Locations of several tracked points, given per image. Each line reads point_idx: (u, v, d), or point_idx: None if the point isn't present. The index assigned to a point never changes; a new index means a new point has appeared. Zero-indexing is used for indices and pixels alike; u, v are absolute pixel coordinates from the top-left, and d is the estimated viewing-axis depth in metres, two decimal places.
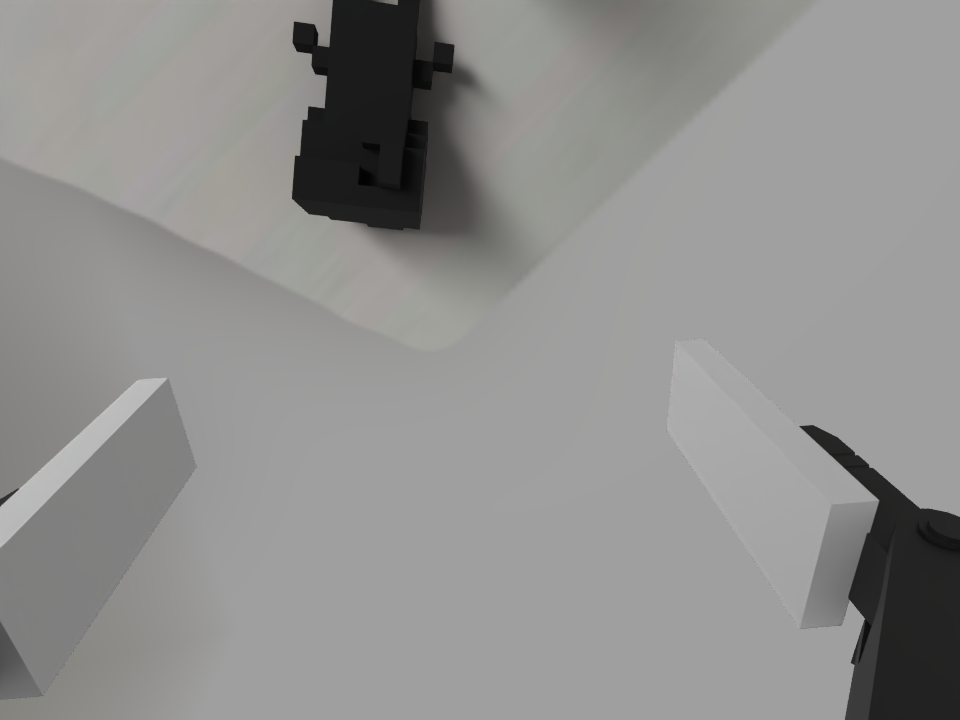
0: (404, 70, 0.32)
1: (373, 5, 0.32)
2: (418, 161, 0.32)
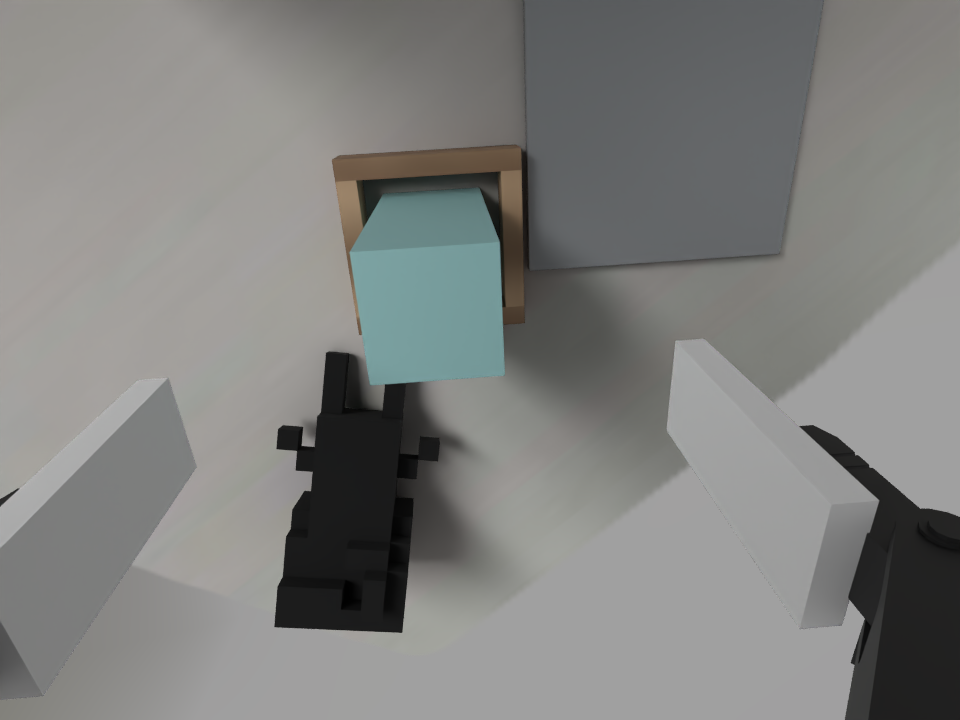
0: (389, 483, 0.32)
1: (357, 423, 0.32)
2: (401, 583, 0.32)
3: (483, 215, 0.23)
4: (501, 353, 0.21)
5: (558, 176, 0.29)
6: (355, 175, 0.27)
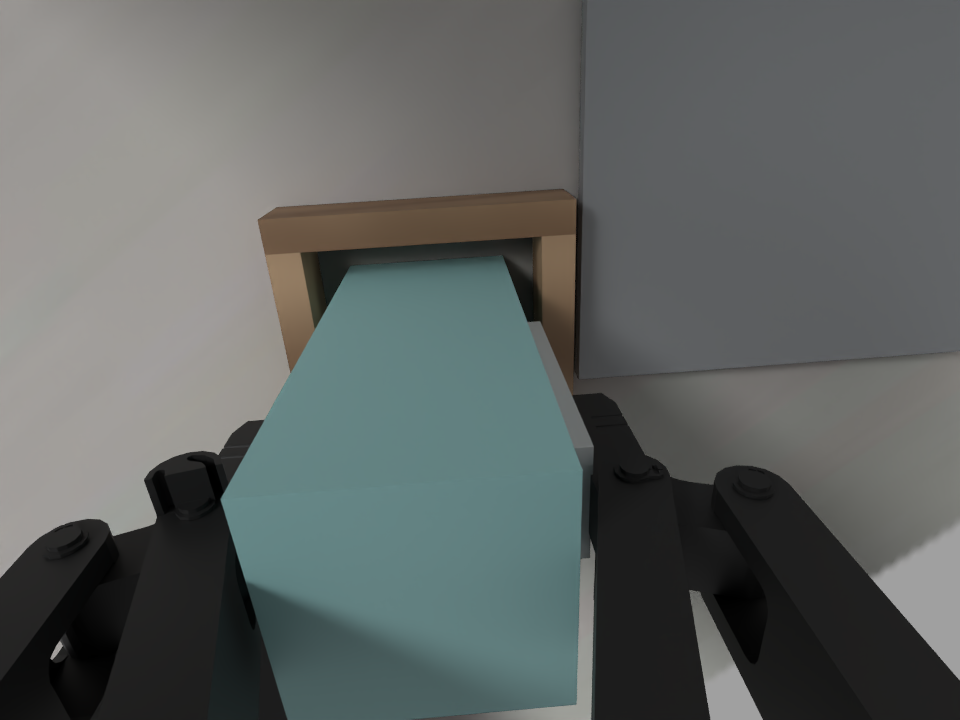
0: None
1: None
2: None
3: (523, 343, 0.12)
4: (572, 670, 0.10)
5: (630, 239, 0.18)
6: (298, 244, 0.16)
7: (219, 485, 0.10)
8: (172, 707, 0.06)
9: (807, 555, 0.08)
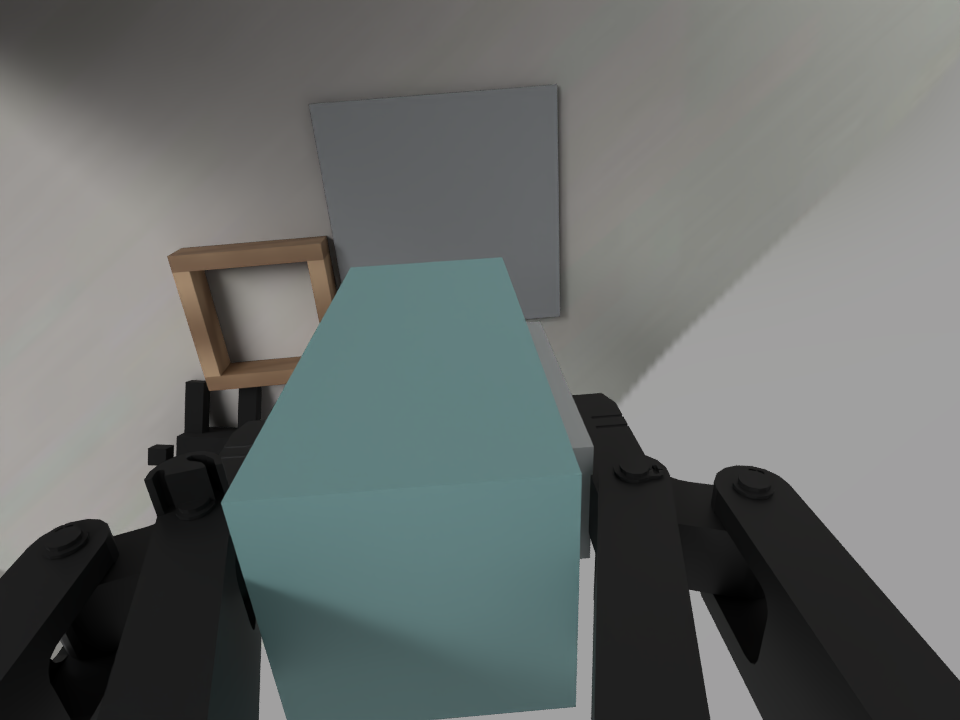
0: None
1: (211, 441, 0.38)
2: None
3: (523, 345, 0.12)
4: (571, 672, 0.10)
5: (362, 260, 0.36)
6: (188, 267, 0.34)
7: (219, 485, 0.10)
8: (173, 707, 0.07)
9: (807, 555, 0.08)
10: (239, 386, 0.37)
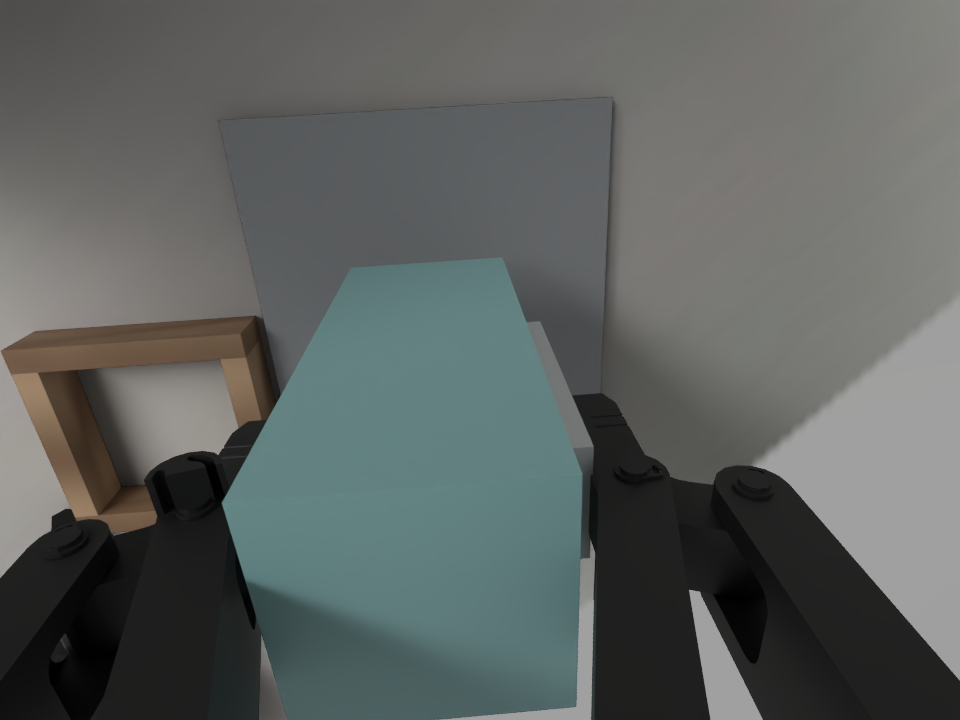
0: None
1: None
2: None
3: (523, 346, 0.12)
4: (572, 672, 0.10)
5: None
6: (35, 367, 0.22)
7: (219, 485, 0.10)
8: (171, 707, 0.06)
9: (807, 555, 0.08)
10: (127, 529, 0.25)
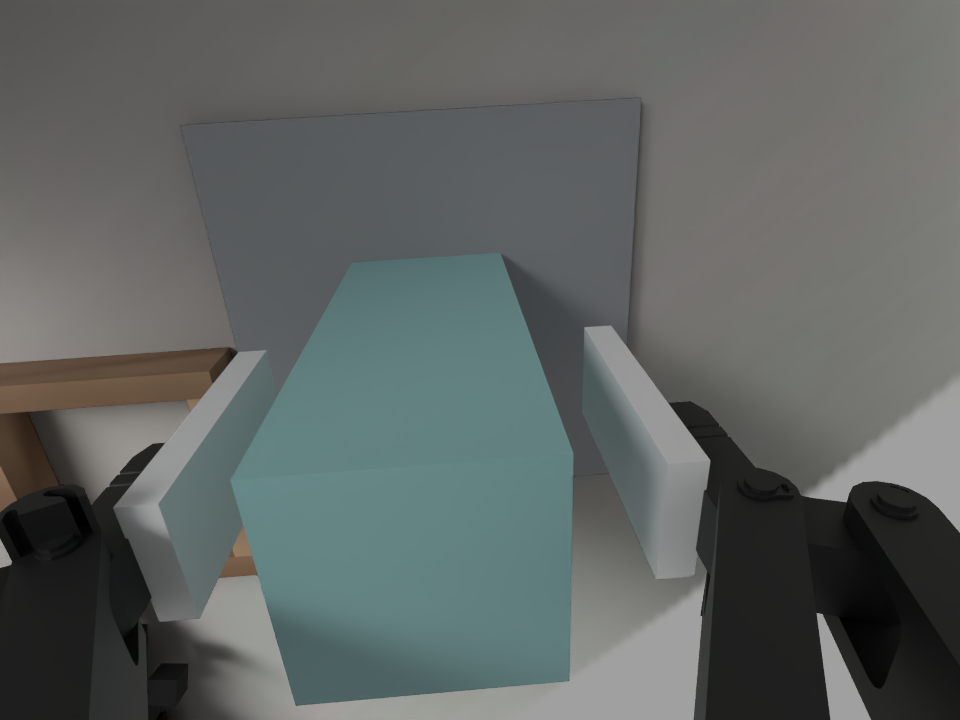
0: None
1: None
2: None
3: (519, 335, 0.13)
4: (564, 647, 0.10)
5: None
6: None
7: (84, 519, 0.09)
8: None
9: (954, 582, 0.07)
10: None
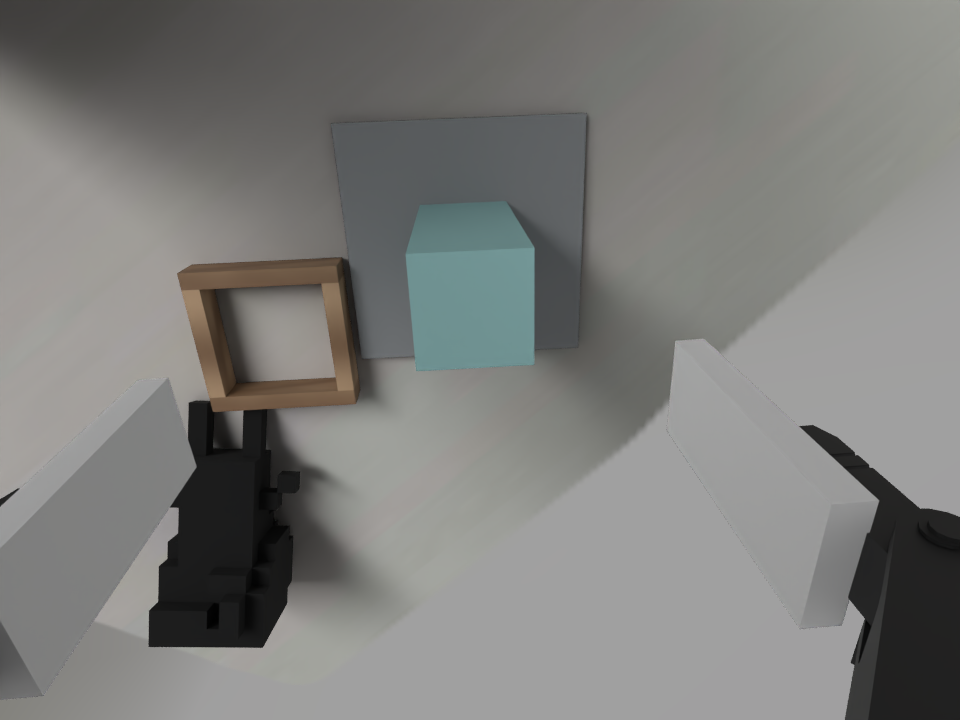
0: (247, 515, 0.37)
1: (215, 464, 0.36)
2: (259, 604, 0.36)
3: (515, 225, 0.26)
4: (532, 345, 0.24)
5: (378, 284, 0.35)
6: (198, 285, 0.33)
7: None
8: None
9: None
10: (244, 408, 0.36)
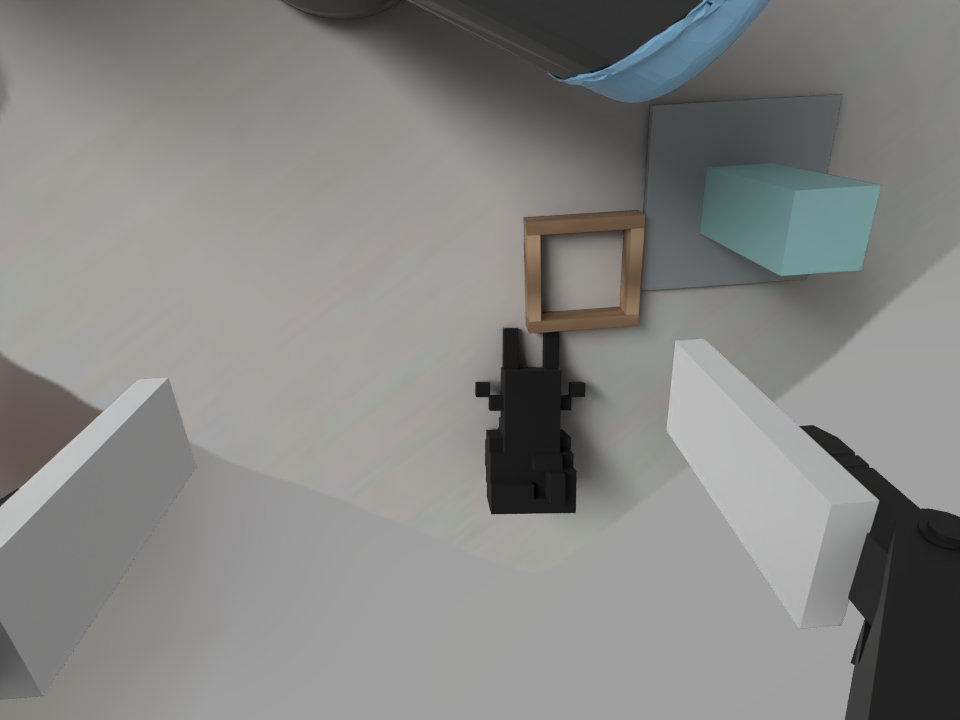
0: (556, 412, 0.47)
1: (532, 373, 0.47)
2: (572, 479, 0.46)
3: (827, 175, 0.37)
4: (863, 255, 0.34)
5: (664, 230, 0.45)
6: (540, 231, 0.43)
7: None
8: None
9: None
10: (553, 330, 0.47)
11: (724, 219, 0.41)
